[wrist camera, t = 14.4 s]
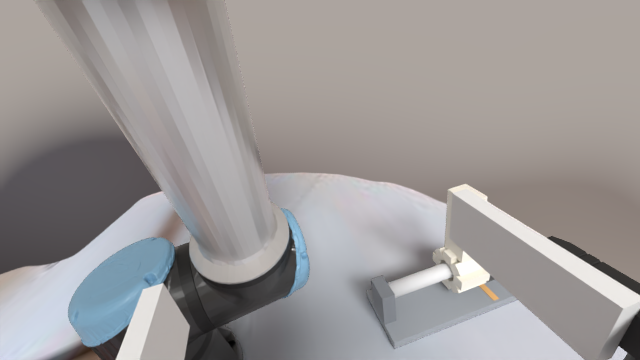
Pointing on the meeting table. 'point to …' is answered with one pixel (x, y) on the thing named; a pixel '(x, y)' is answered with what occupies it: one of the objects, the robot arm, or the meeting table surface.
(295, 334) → the meeting table surface
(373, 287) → the pipe stand
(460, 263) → the sleeve
